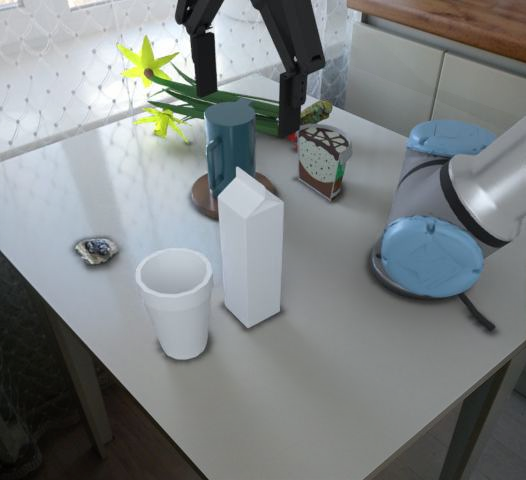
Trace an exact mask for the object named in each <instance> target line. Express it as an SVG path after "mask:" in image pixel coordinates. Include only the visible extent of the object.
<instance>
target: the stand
mask: <svg viewBox="0 0 526 480" xmlns="http://www.w3.org/2000/svg"><path fill="white" fill-rule="evenodd" d="M256 180H257V181H258V182H259V183H261V184H262V185H263V186H264V187H265V189H267V190H268V191H269V192H271V193H272V194H273V195H275V189H274V185H273V183H272V181H271V179H269V178H268V177H267V176H265V174H262V173H260V172H258V171H256ZM191 200H192V204H193V205H194V207H195V208H196V210H198V211H199V212H200V213H202V214H203V215H205V216H207V217H210V218H212V219H217V220H219V210H218V199H217V198H215V197H214V196H213V195H212V194H211V193H210V189H209V184H208V172H206V173H205V174H203V175H201V176H199V177H198V178H197V180H195V182H194V183H193V185H192V186H191Z"/></svg>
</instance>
